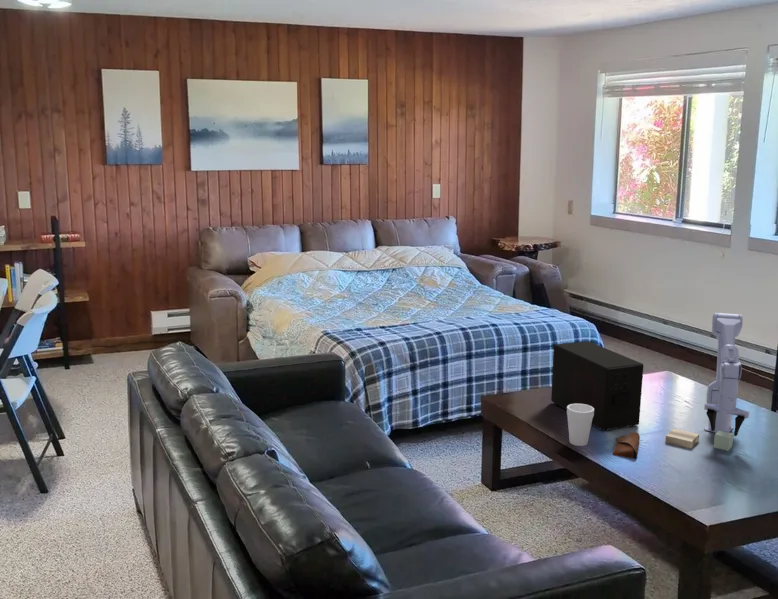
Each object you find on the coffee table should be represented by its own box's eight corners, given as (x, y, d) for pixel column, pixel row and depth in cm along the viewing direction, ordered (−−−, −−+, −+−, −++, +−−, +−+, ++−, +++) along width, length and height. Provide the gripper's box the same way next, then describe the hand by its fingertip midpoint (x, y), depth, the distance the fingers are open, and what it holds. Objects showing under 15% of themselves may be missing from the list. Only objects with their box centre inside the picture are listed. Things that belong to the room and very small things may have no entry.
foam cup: (595, 440, 286) (597, 406, 283) (587, 449, 278) (590, 414, 275) (569, 435, 290) (571, 401, 288) (561, 444, 282) (563, 409, 280)
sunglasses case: (615, 436, 289) (625, 423, 287) (631, 448, 288) (642, 434, 286) (611, 455, 273) (622, 441, 270) (628, 467, 271) (640, 453, 269)
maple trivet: (673, 436, 292) (674, 428, 291) (698, 441, 286) (699, 434, 286) (665, 443, 285) (665, 435, 284) (690, 449, 279) (691, 441, 279)
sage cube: (717, 443, 284) (718, 430, 283) (732, 446, 281) (733, 433, 280) (713, 447, 280) (714, 434, 279) (728, 451, 277) (729, 437, 276)
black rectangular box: (649, 428, 298) (654, 364, 293) (605, 435, 291) (610, 369, 286) (589, 397, 332) (593, 339, 327) (549, 402, 325) (552, 344, 320)
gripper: (703, 394, 278) (699, 431, 281) (747, 403, 269) (743, 440, 272) (709, 389, 284) (705, 425, 286) (752, 398, 275) (748, 435, 278)
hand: (724, 432), depth 280 cm, fingers open, 7 cm apart
